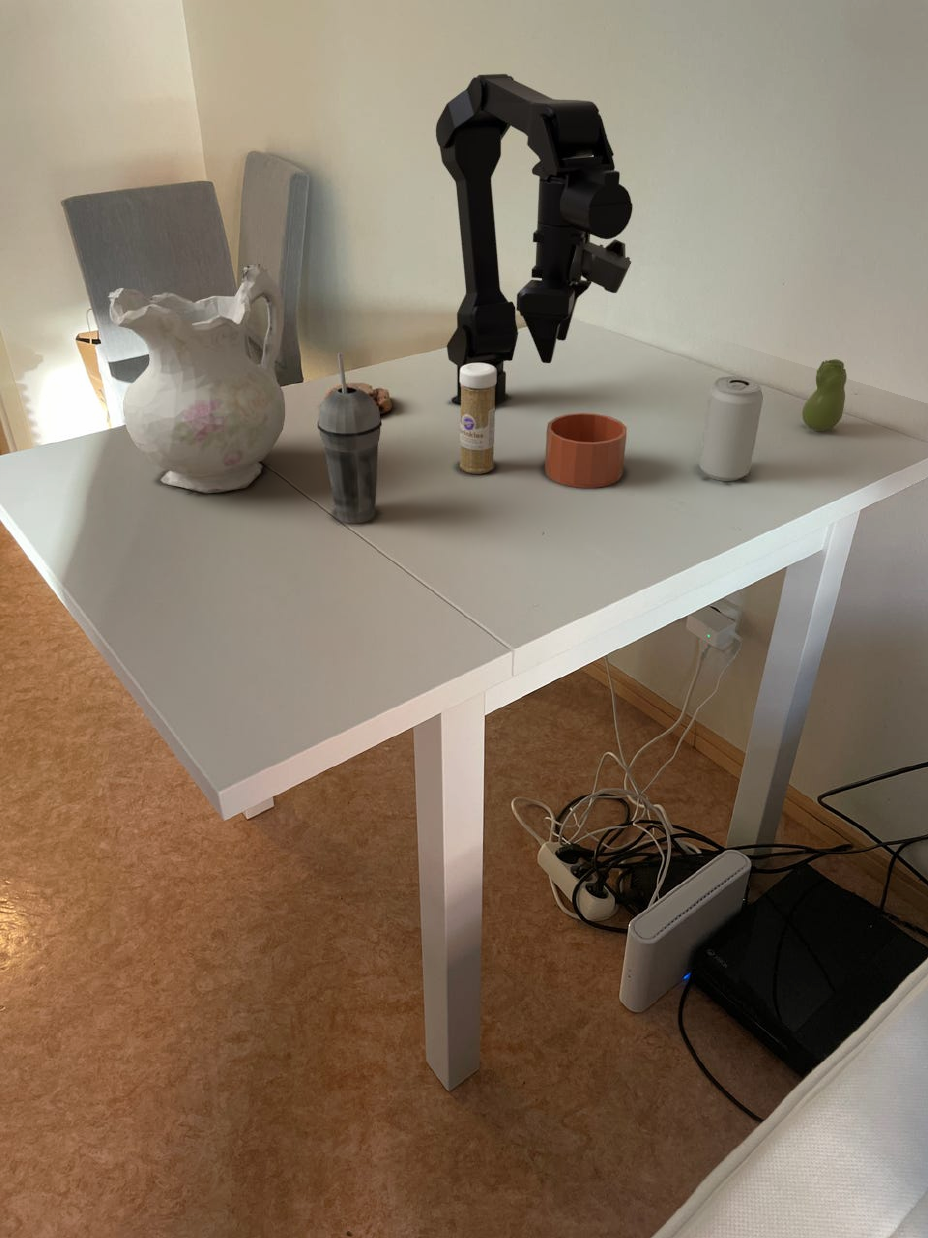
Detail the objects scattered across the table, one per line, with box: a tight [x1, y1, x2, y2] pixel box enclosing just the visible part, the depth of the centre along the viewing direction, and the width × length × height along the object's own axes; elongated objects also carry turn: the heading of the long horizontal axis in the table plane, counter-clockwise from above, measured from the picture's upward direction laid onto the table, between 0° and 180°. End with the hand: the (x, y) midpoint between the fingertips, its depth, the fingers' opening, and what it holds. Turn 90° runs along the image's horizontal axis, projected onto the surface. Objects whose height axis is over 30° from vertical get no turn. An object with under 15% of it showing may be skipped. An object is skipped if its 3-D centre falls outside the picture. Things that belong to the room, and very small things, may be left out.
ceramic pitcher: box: [108, 263, 286, 494], centre depth 118 cm, size 22×20×25 cm
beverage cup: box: [317, 351, 383, 525], centre depth 109 cm, size 7×7×20 cm
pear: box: [801, 358, 848, 432], centre depth 134 cm, size 6×5×10 cm
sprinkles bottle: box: [459, 363, 497, 475], centre depth 122 cm, size 5×5×13 cm
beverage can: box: [699, 375, 764, 482], centre depth 121 cm, size 6×6×12 cm
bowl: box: [544, 412, 628, 489], centre depth 123 cm, size 10×10×6 cm
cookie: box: [323, 382, 393, 415], centre depth 143 cm, size 10×11×3 cm
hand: (554, 350), depth 123 cm, fingers open, 9 cm apart
